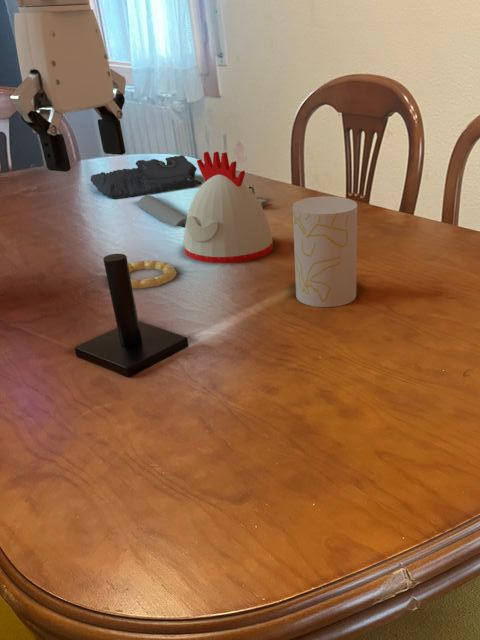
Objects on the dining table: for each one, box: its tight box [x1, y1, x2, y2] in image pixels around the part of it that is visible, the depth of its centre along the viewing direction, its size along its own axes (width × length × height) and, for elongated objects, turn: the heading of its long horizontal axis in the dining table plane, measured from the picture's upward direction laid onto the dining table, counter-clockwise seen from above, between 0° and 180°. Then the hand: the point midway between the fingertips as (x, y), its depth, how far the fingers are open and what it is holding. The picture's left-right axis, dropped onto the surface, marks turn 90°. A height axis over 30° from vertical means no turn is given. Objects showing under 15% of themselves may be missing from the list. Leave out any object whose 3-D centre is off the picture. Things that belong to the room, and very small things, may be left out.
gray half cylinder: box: [138, 194, 187, 228], centre depth 122 cm, size 4×20×2 cm, turn 32°
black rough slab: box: [90, 154, 202, 199], centre depth 141 cm, size 15×22×5 cm
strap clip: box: [246, 185, 268, 208], centre depth 124 cm, size 8×3×4 cm, turn 149°
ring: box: [128, 260, 178, 289], centre depth 94 cm, size 9×9×2 cm
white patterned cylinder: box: [292, 195, 358, 308], centre depth 86 cm, size 8×8×12 cm
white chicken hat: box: [183, 151, 274, 264], centre depth 100 cm, size 14×14×15 cm
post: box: [73, 253, 189, 378], centre depth 73 cm, size 9×9×11 cm
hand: (88, 161), depth 81 cm, fingers open, 9 cm apart
